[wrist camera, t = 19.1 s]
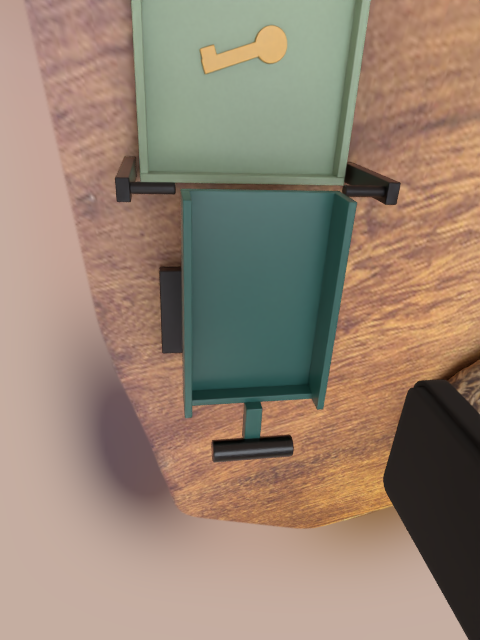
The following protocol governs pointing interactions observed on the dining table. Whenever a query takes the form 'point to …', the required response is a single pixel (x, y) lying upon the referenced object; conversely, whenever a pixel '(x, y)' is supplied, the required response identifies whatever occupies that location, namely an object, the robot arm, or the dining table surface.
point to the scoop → (260, 302)
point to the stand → (171, 277)
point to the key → (248, 50)
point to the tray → (246, 91)
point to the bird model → (468, 384)
